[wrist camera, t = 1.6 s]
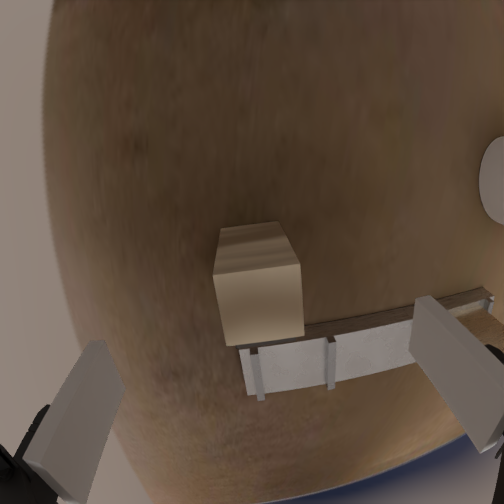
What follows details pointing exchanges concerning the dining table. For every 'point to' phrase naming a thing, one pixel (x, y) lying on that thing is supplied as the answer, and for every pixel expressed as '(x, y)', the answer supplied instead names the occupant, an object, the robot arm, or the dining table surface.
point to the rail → (358, 346)
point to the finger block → (258, 286)
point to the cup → (493, 180)
